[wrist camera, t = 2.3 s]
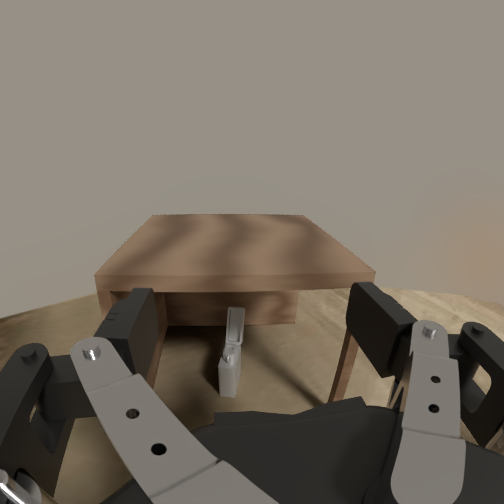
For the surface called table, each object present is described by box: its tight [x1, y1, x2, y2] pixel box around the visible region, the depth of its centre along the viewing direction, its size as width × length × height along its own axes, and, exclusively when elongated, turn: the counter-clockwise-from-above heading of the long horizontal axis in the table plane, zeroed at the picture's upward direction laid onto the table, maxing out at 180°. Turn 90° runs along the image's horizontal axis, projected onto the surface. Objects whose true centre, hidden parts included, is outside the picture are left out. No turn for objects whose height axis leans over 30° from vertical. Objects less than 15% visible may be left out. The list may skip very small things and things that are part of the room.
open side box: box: [94, 214, 376, 403], centre depth 31 cm, size 20×20×16 cm
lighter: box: [218, 306, 245, 398], centre depth 30 cm, size 7×2×8 cm, turn 173°
